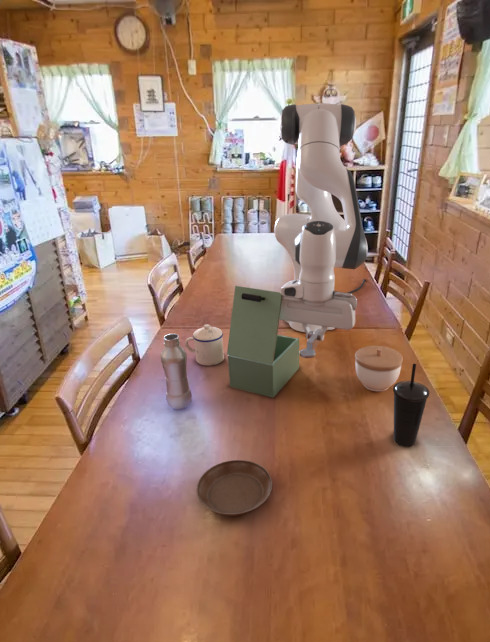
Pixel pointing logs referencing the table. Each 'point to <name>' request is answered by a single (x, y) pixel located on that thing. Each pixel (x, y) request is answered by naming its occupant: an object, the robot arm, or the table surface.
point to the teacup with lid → (207, 345)
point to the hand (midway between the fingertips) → (314, 339)
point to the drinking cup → (408, 409)
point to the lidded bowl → (378, 367)
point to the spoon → (311, 346)
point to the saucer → (234, 487)
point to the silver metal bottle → (175, 373)
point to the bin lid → (254, 324)
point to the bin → (266, 369)
